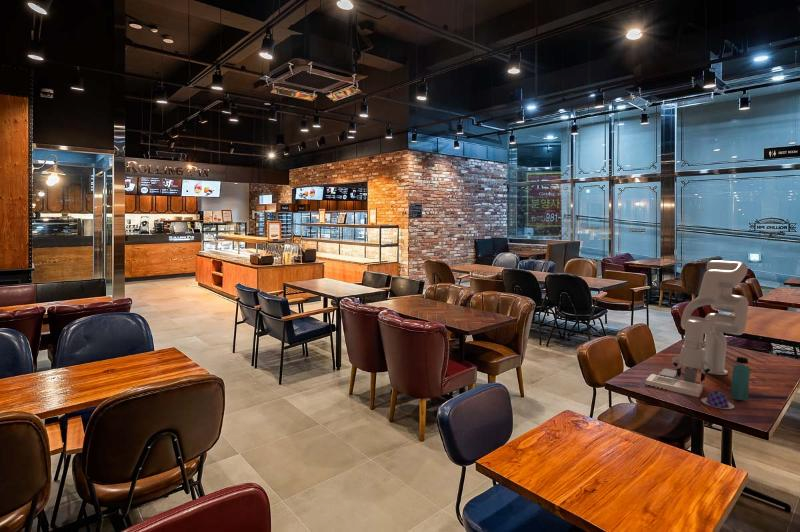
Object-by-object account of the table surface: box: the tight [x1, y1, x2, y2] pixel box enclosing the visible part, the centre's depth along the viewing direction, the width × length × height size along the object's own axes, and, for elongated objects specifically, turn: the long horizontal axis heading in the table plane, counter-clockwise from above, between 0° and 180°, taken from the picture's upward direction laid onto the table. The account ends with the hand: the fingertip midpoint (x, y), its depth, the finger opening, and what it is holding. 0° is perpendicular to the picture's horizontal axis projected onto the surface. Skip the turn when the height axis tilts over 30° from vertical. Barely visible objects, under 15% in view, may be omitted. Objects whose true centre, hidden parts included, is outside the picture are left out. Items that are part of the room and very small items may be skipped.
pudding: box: [700, 391, 735, 410], centre depth 197 cm, size 12×12×5 cm
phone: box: [657, 368, 678, 379], centre depth 235 cm, size 13×7×1 cm, turn 138°
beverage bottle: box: [730, 356, 751, 401], centre depth 200 cm, size 6×7×20 cm
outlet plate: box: [645, 373, 704, 398], centre depth 216 cm, size 12×22×3 cm, turn 49°
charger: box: [683, 367, 698, 383], centre depth 221 cm, size 4×4×9 cm
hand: (690, 378), depth 221 cm, fingers open, 9 cm apart
